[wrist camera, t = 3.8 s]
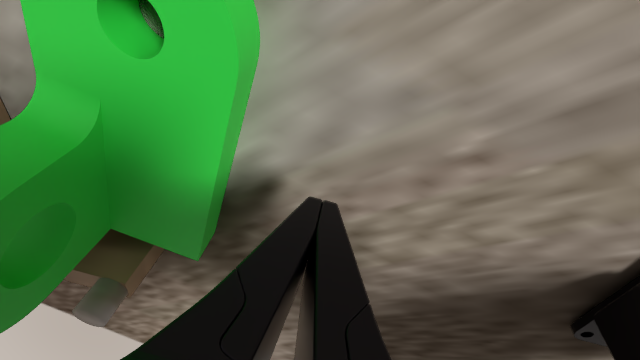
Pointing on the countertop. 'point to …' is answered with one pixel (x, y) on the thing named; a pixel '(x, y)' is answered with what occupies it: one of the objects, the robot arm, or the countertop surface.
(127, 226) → the mechanical part
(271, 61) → the countertop surface
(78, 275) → the dock bracket
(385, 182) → the countertop surface
